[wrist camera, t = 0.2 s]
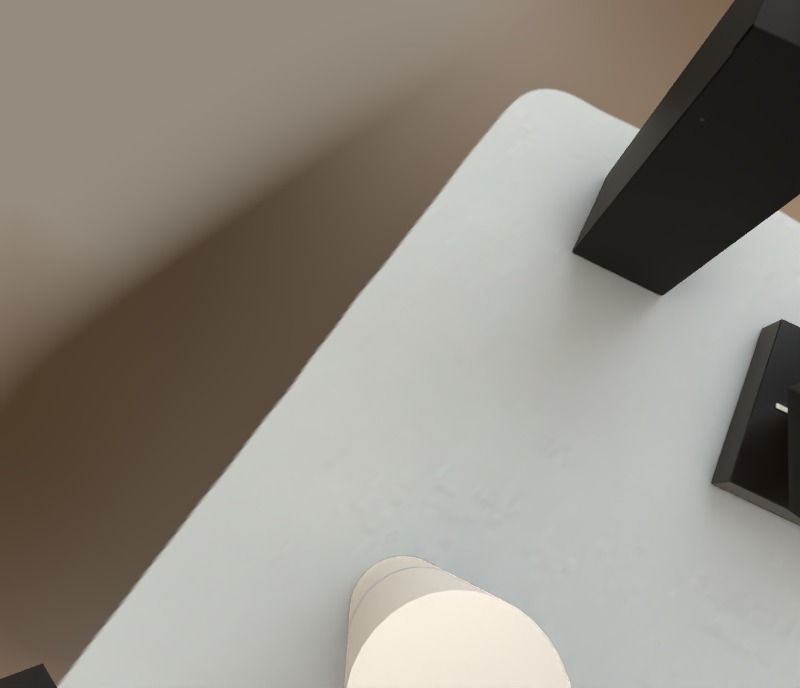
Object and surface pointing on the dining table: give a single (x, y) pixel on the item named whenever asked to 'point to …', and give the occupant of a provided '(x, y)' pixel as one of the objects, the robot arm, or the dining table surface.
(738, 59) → the tissue box
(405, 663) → the cylindrical container
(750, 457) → the control knob panel
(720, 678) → the dining table surface
